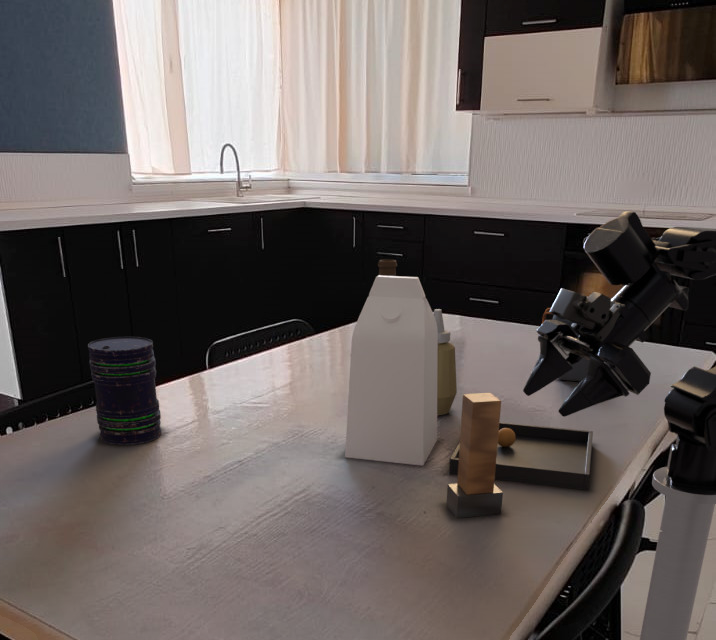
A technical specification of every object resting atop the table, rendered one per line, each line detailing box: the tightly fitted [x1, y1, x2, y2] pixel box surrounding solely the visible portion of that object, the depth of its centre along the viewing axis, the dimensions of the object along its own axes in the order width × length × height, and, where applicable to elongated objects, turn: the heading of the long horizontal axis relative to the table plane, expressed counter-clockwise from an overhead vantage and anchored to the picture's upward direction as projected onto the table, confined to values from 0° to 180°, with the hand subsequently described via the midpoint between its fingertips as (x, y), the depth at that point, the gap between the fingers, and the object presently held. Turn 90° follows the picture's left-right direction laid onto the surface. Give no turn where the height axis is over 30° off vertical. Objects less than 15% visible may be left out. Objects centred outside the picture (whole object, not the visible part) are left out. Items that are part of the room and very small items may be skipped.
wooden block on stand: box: [446, 392, 504, 519], centre depth 96 cm, size 6×4×15 cm, turn 103°
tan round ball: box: [498, 428, 516, 447], centre depth 119 cm, size 3×3×3 cm
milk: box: [344, 274, 438, 466], centre depth 115 cm, size 12×12×26 cm
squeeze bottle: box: [433, 308, 458, 416], centre depth 134 cm, size 8×8×18 cm
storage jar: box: [87, 336, 163, 446], centre depth 122 cm, size 10×10×15 cm
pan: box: [448, 421, 594, 491], centre depth 116 cm, size 19×19×2 cm
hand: (542, 403), depth 97 cm, fingers open, 9 cm apart
